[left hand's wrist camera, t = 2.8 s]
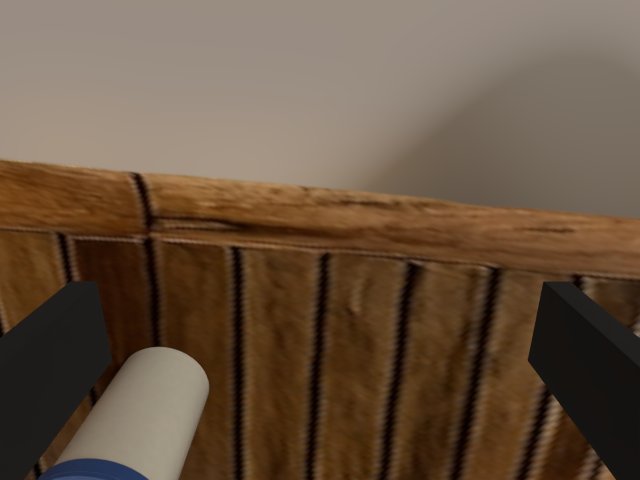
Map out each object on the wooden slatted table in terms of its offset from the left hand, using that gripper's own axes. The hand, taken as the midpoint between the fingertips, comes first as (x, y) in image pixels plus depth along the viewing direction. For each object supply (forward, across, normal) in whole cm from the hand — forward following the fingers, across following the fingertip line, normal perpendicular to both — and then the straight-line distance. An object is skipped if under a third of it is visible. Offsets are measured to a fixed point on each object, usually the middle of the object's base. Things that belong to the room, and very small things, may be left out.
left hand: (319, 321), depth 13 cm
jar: (+28, +17, +25) cm, 41 cm away
